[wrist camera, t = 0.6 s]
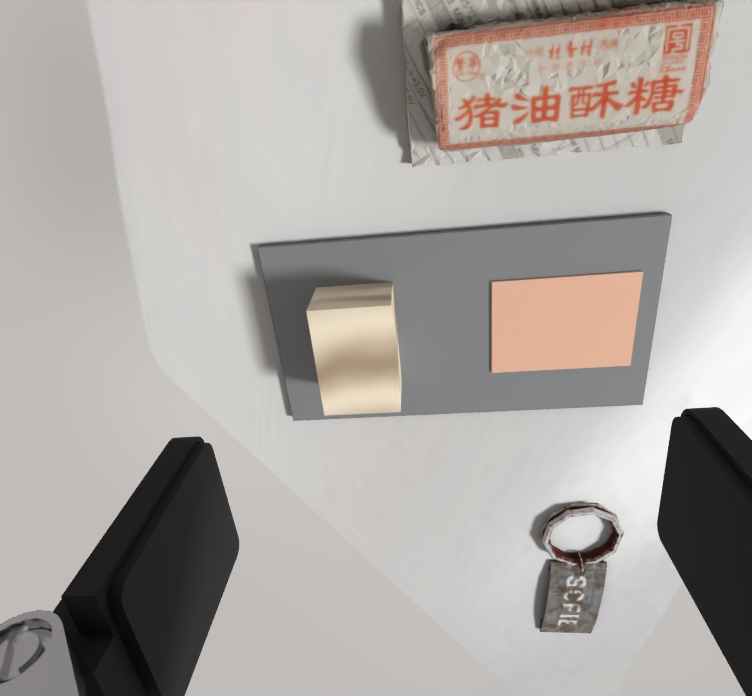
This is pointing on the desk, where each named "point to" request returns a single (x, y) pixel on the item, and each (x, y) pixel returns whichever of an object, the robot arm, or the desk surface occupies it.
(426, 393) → the mat
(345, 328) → the birch tile
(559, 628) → the keychain
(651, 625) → the desk surface
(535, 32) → the packaged product
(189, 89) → the desk surface
